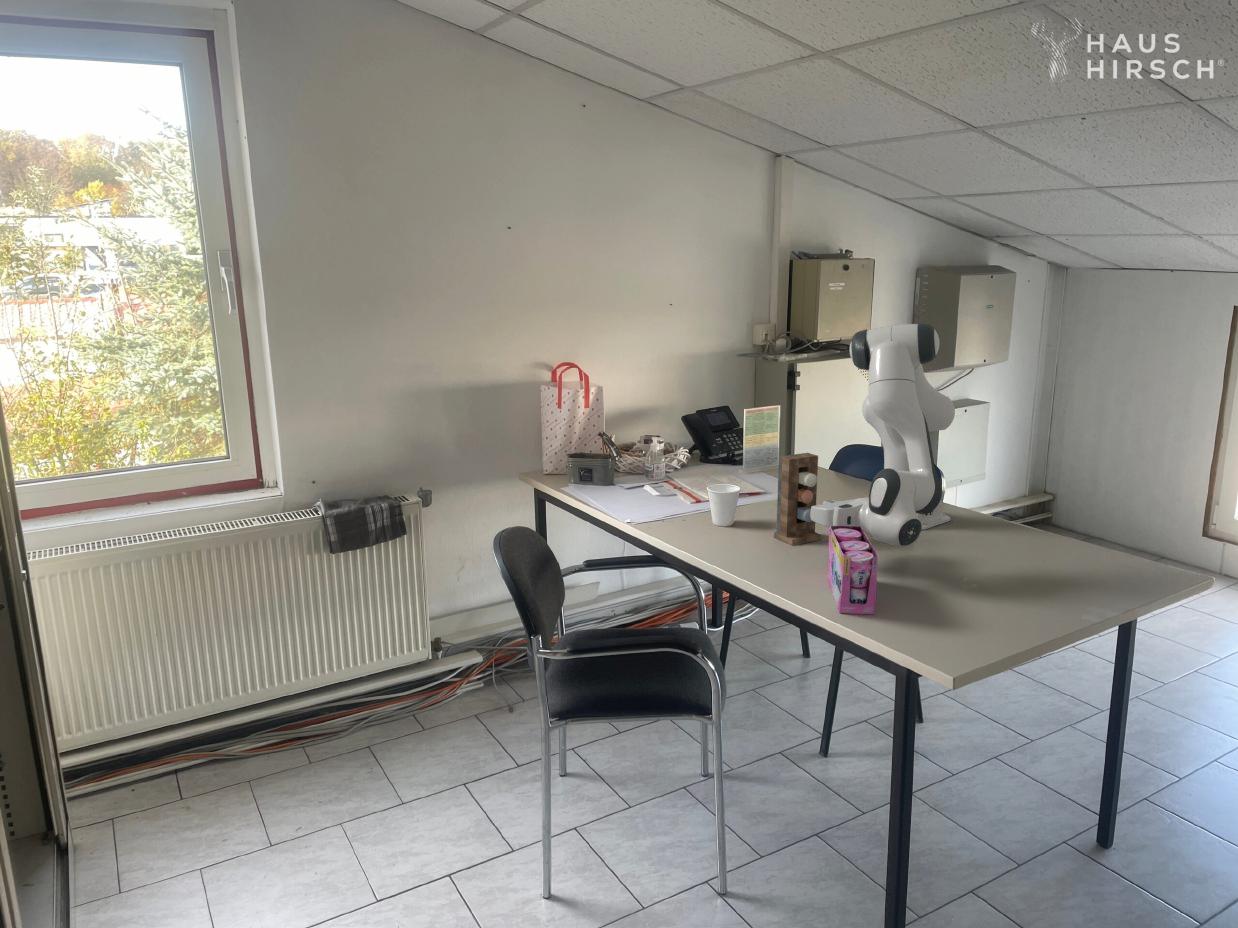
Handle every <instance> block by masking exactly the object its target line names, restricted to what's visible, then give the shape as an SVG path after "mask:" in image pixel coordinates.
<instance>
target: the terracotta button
mask: <svg viewBox="0 0 1238 928" xmlns="http://www.w3.org/2000/svg"><path fill="white" fill-rule="evenodd" d="M812 499H813V493H812V492H811V491H809V490H806V489H803V488H800V489H798V497H797V501H800V502H803V503H806V504H808V503H810V502H811V501H812Z"/></svg>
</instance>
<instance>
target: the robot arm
mask: <svg viewBox="0 0 1238 928" xmlns="http://www.w3.org/2000/svg"><path fill="white" fill-rule="evenodd" d="M939 349H940V337H939V334H938V332H937V331H936V329H935V326H933V325H932V324H930V323H927V322H918V323H902V324H901V323H897V324H891V325H887V326H882V327H881V326H880V327H876V328H872V329H863V330H859V331H857V332H855V333H854V334H853V336H851V341H850V344H849V356H850V359H851V361H852V363H853V365H854V366H855V367H856V368H857V369H860V370H863V371H868V381H867V382H868V395H866V397H865V399H864V400H863V403H862V406H861V407H862V408H861V411H862V416H863V418H864V420H865V421H866V423H867V424H869V425H870V426H871V427H872V428H873V429H874V430H875V432H876V433H877V435H878V437H879V438H880V440H881V443H882V447H883V459H884V460H883V462H884V464H883V469H881V470H880V471H878V472H877V473H876V474H875V476H874V477H873V480H872V481H871V484H870V488H869V492H868V493H869V494H868V495H869V496H868V497H867V496H866V497H859V498H853V499H846V500H841V501H840V500H834V499H830V500H824V501H823V502H822V504H816V505H815V506H812V507H811V512H810V517H811V520H812V521H814V522H815V524H819V525H820V526H823V527H826V528H830V526H861V527H862V529H863V531H864V533H865V535H866V536H867V537H870V538H874V539H875V540H877V541H879V542H882V543H884V544H888V545H891V546H896V547H905V546H909V545H911V544H913V543H914V542H915V541H916V540H917V539H918V538H919V537H920V535H921V532H922V530H927V529H931V528H933V527H936V526H939V525H942V524H944V523H947V522H950V521H951V516H950V515H948V514H946V513H943V502H942V497H943V487H942V484H941V481H940V479H939V476H938V473H937V470H936V467H935V465H936V464H935V460H934V454H933V448H932V443H931V437H930V432H938V431H945V430H947V429H948V428H949V427H950V426H951V425H952V423H953V421H954V419H955V413H956V409H955V405H954V402H953V401H952V400H951V398H950V397H949V396H947V395H945V394H943V393H941V392H940V391H939V390H937V389H936V388H934V387H933V385H932V384H930V382H929V381H928V379H927V377H926V376H925V372H924V368H923V365H924V364H925V365H926V364H929V363H932V362H933V361H934V360H935V359H936V358H937V355H938V352H939Z"/></svg>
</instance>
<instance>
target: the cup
mask: <svg viewBox="0 0 1238 928" xmlns="http://www.w3.org/2000/svg"><path fill="white" fill-rule="evenodd" d="M706 489H707V494H708V499H709V505H710V511H711V512H710V513H711V520H712V523H713V525H714V526H717V527H724V528H725V527H732V525H734V523H735V517H736V512H737V506H738V502H739V501H738V500H739V496H740V491H741V490H742V489H741V487H740V486H738V485H735V484H729V483H717V484H711V485H709V486H707V487H706Z"/></svg>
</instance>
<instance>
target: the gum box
mask: <svg viewBox="0 0 1238 928" xmlns="http://www.w3.org/2000/svg"><path fill="white" fill-rule="evenodd" d="M828 528H829V527H828ZM827 549H828V551H827V553H828V554H827V573H826V574H827V577H826V578H827V581H828V584H829V587H830V590H831V593H832V597H833V598H834V601H835V604H836V607H837V609H838V612H839V614H851V615H854V614H855V615H875V614H876V600H877V596H876V595H877V579H878V557H879V556H878V553H877V551H876V549H875V548H874V545H872V543H871V541H870V540H869V538H868V536H866V535H865V533H864V531H863V529H862V527H861V526H830V528H829V529H828V548H827Z"/></svg>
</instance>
